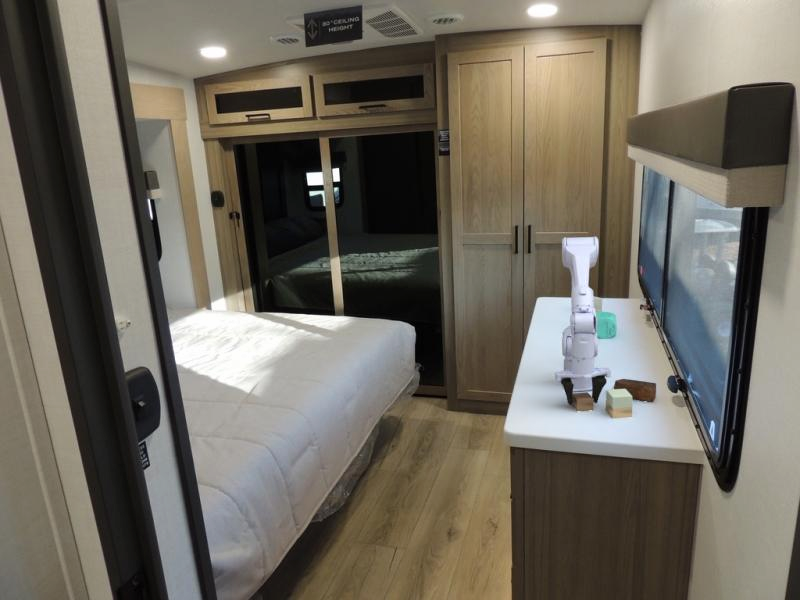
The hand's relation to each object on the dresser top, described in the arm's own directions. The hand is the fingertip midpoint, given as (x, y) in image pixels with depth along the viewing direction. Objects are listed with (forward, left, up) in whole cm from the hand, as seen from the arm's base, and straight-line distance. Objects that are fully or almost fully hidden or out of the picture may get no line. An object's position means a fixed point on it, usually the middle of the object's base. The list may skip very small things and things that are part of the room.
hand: (582, 402), depth 159 cm
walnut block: (0, 0, -2) cm, 2 cm away
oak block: (+5, +8, -2) cm, 10 cm away
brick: (-4, +16, -2) cm, 17 cm away
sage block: (+5, +8, +1) cm, 10 cm away
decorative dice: (-57, +28, -2) cm, 64 cm away
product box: (-83, +33, -2) cm, 89 cm away
